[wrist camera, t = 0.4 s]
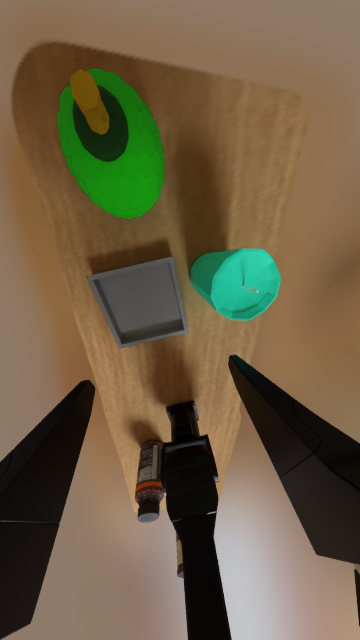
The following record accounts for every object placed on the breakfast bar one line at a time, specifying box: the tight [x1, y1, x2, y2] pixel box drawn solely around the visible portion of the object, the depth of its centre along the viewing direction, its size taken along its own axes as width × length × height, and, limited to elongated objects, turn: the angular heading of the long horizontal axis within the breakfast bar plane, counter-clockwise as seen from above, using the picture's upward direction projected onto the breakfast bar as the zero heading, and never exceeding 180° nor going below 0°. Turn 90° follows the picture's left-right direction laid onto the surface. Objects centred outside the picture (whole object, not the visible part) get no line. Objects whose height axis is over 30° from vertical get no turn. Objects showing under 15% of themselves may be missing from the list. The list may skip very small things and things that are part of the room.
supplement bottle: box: [135, 440, 164, 522], centre depth 32 cm, size 6×6×11 cm
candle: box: [190, 249, 281, 321], centre depth 16 cm, size 6×6×12 cm
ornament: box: [57, 68, 165, 219], centre depth 12 cm, size 8×8×10 cm
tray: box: [86, 256, 189, 349], centre depth 21 cm, size 11×11×2 cm
